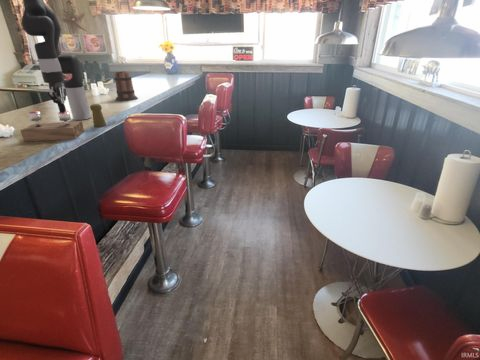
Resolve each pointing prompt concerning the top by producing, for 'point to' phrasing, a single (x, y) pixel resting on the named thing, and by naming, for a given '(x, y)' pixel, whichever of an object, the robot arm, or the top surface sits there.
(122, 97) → the tankard
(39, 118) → the knob
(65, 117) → the knob
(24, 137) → the console
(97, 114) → the cork
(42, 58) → the robot arm
